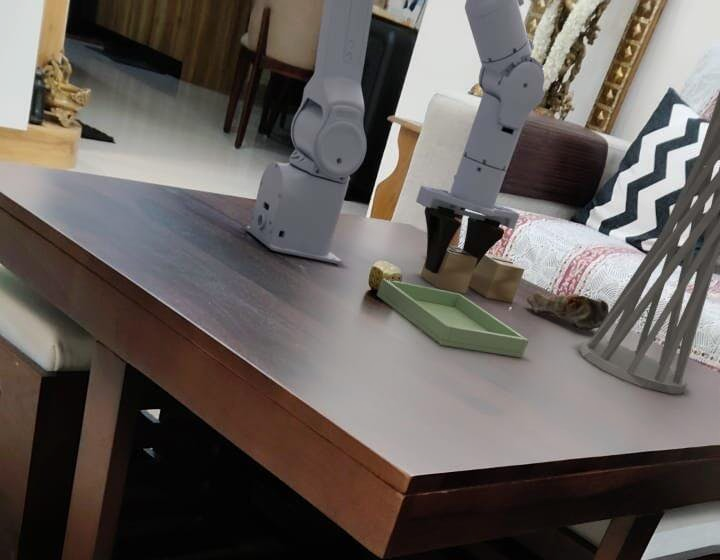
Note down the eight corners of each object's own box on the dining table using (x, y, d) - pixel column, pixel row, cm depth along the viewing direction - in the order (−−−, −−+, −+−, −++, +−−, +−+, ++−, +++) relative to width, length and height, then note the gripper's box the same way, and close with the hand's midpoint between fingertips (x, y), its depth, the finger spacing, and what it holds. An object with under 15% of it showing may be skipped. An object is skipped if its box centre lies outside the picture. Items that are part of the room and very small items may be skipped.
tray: (441, 345, 102) (447, 326, 101) (376, 295, 112) (381, 277, 111) (521, 357, 108) (529, 340, 107) (454, 309, 118) (459, 293, 117)
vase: (571, 337, 125) (703, 27, 107) (667, 369, 127) (813, 70, 109) (590, 369, 114) (741, 28, 96) (695, 404, 116) (863, 76, 98)
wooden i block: (486, 297, 130) (499, 262, 127) (467, 285, 133) (480, 251, 130) (512, 302, 132) (525, 268, 130) (493, 290, 135) (506, 257, 133)
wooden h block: (437, 288, 125) (450, 251, 123) (420, 275, 128) (431, 240, 126) (465, 293, 128) (478, 258, 125) (447, 281, 131) (459, 246, 128)
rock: (607, 335, 134) (552, 292, 137) (628, 298, 130) (571, 255, 133) (572, 352, 129) (516, 307, 132) (593, 314, 125) (534, 269, 127)
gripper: (455, 157, 114) (416, 275, 121) (547, 185, 122) (506, 293, 129) (424, 142, 118) (388, 256, 125) (515, 169, 126) (476, 274, 133)
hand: (446, 274), depth 127 cm, fingers closed on wooden h block, 4 cm apart
